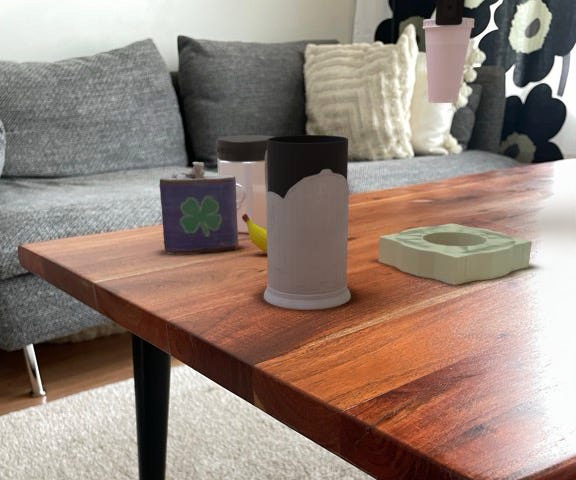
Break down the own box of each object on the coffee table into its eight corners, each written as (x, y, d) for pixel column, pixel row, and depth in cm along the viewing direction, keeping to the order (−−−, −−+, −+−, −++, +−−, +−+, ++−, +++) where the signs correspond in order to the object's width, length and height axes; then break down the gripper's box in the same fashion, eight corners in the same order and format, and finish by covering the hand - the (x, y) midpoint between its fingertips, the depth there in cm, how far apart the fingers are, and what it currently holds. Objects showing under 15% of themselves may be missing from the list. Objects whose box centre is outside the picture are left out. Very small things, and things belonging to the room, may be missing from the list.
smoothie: (474, 103, 91) (485, -23, 86) (424, 103, 91) (431, -23, 85) (460, 100, 97) (469, -18, 91) (413, 101, 97) (419, -18, 91)
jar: (207, 231, 100) (202, 140, 95) (232, 219, 107) (229, 134, 102) (267, 235, 97) (265, 142, 92) (289, 223, 104) (288, 135, 99)
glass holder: (285, 314, 67) (283, 146, 61) (232, 276, 79) (226, 132, 73) (366, 302, 70) (373, 140, 64) (304, 267, 82) (304, 128, 76)
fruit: (242, 257, 86) (240, 215, 84) (243, 252, 88) (242, 211, 86) (327, 257, 86) (327, 215, 84) (326, 253, 88) (327, 211, 86)
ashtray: (449, 245, 91) (451, 221, 90) (537, 267, 81) (540, 241, 80) (370, 261, 84) (371, 236, 83) (455, 288, 74) (457, 259, 73)
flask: (236, 245, 92) (233, 158, 87) (240, 251, 89) (237, 161, 85) (163, 250, 90) (156, 161, 85) (165, 256, 87) (158, 164, 83)
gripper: (499, -171, 75) (482, 22, 82) (489, -132, 90) (476, 27, 97) (425, -166, 76) (415, 24, 83) (428, -129, 91) (420, 29, 99)
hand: (448, 24), depth 90 cm, fingers closed on smoothie, 6 cm apart
